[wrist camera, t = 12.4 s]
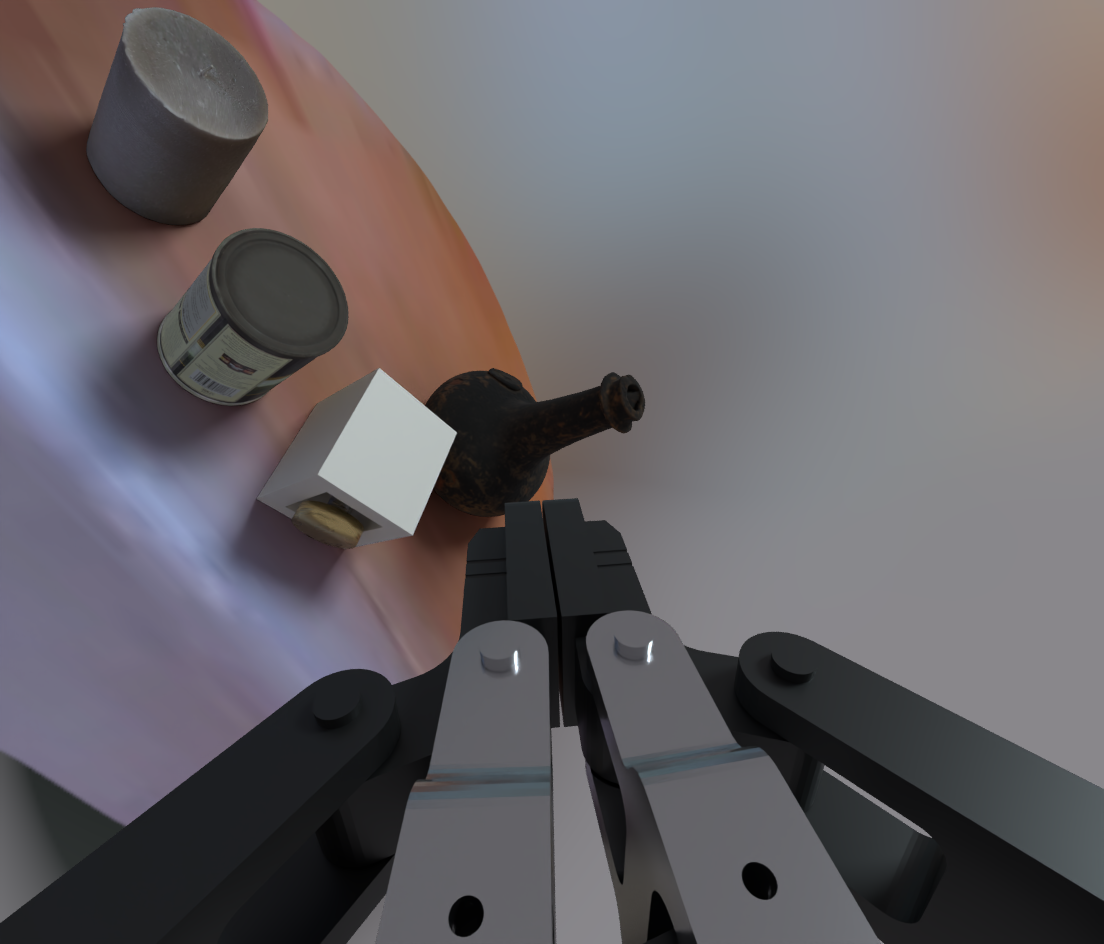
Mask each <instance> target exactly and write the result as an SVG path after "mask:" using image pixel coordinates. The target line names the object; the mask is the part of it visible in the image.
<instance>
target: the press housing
mask: <svg viewBox="0 0 1104 944" xmlns="http://www.w3.org/2000/svg"><path fill="white" fill-rule="evenodd" d="M456 434H457V432H456V431H454V430H453V429H452V428H451V427H450V426H448V425H447V424H446V423H445V422H444V421H442V420H441V419H440V418H439V417H438V416H436V415H435V414H434V413H433V412H432V411H430V410H429V409H428V408H427V407H426V406H424V405H423V404H422V403H421V402H420V401H418V400H417V399H416V398H415V397H414V396H412V395H411V394H410V393H409V392H407V391H406V390H405V389H404V388H403V387H401V386H400V385H399V384H398V383H397V382H395V381H394V380H393V379H392V378H391V377H389V376H388V375H387V374H386V373H385V372H383V371H382V370H381V369H380V368H378V369H377V370H375V371H373V372H371V373H370V374H368V375H366V376H364V377H363V378H361V379H359V380H357V381H356V382H354V383H352V384H350V385H349V386H347V387H345V388H343V389H342V390H340V391H338V392H336V393H335V394H333V395H331V396H329V397H328V398H326V399H324V400H323V401H321V402H319V403H317V404H316V406H315V407H314V409H313V410H312V412H311V414H310V415H309V417H308V418H307V420H306V422H305V423H304V425H303V426H302V428H301V429H300V431H299V433H298V434H297V436H296V437H295V439H294V440H293V442H292V444H291V445H290V447H289V448H288V450H287V451H286V453H285V455H284V456H283V458H282V459H281V461H280V462H279V464H278V466H277V467H276V469H275V470H274V472H273V473H272V475H271V477H270V478H269V480H268V481H267V483H266V485H265V486H264V488H263V489H262V491H261V492H260V494H259V496H258V497H257V500H259V501H261V502H263V503H265V504H266V505H268V506H270V507H272V508H273V509H275V510H277V511H279V512H280V513H282V514H284V515H286V516H287V517H289V518H291V519H292V517H293V516H294V514H295V512H296V510H297V509H298V507H299V505H300V504H301V503H302V502H303V501H318V502H323V503H326V504H327V503H328V501H329V499H330V498H331V496H334V497H335V498H337V499H339V500H340V501H342V502H343V503H345V504H347V505H348V506H350V507H351V508H350V510H349V512H348V513H349V514H350V515H352V516H353V517H355V518H356V519H357V520H358V521H359V522H360V523H361V524H362V526H363V528H364V531H363V533H362V535H361V537H360V539H359V542H358V544H357V546H356V547H358V546H363V545H368V544H373V543H378V542H382V541H387V540H392V539H397V538H402V537H407V536H412V535H413V534H414V531H415V529H416V527H417V524H418V522H419V520H420V517H421V515H422V513H423V510H424V508H425V506H426V504H427V501H428V499H429V497H430V494H431V492H432V490H433V487H434V485H435V483H436V480H437V478H438V476H439V473H440V471H441V469H442V466H443V464H444V462H445V459H446V457H447V455H448V452H449V450H450V448H451V446H452V443H453V441H454V439H455V436H456ZM344 549H345V548H344Z"/></svg>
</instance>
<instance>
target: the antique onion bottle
mask: <svg viewBox="0 0 1104 944" xmlns="http://www.w3.org/2000/svg"><path fill="white" fill-rule="evenodd" d="M425 406H426V407H427V408H428V409H429V410H430V411H432V412H433V413H434V414H435V415H436V416H438V417H439V418H440V419H441V420H442V421H444V422H445V423H446V424H447V425H448V426H450V427H451V428H452V429H453V430H454V431H456V432H457V434H456V436H455V439H454V441H453V443H452V446H451V448H450V450H449V452H448V455H447V457H446V459H445V462H444V464H443V466H442V469H441V471H440V473H439V476H438V478H437V480H436V483H435V485H434V487H433V489H434V490H435V491H436V493H437V494H438V495H439V496H440V497H441V498H442V499H444V500H445V501H446V502H447V503H449V504H450V505H451V506H453V507H455V508H456V509H458V510H460V511H463V512H465V513H468V514H471V515H476V516H482V517H494V516H501V515H504V514H505V503H511V502H527V501H529V500H530V499H531V498H532V497H533V496H534V494H535V493H536V492H537V491H538V489H539V488H540V486H541V484H542V482H543V480H544V478H545V476H546V473H547V469H548V466H549V460H550V455H551V454H552V453H554V452H556V451H558V450H560V449H561V448H564V447H565V446H568V445H571V444H572V443H574V442H577V441H579V440H581V439H584V438H586V437H589V436H591V435H594V434H597V433H599V432H602V431H604V430H607V429H610V428H614V429H615V430H617V431H618V432H621V433H627V432H629V431H630V430H631V427H632V421H638V420H640V418H641V417H642V415H643V412H644V408H645V399H644V395H643V391H642V389H641V387H640V385H639V384H638V382H637V381H636V380H635V379H634V378H633V377H632V376H631V375H626V376H622V377H620V376H619V375H617V374H616V373H614V372H612V373H610V374H608V375H607V376H605V377H604V378H603V381H602V383H601V386H598V387H595V388H592V389H589V390H585V391H582V392H579V393H575V394H571V395H567V396H564V397H560V398H556V399H552V400H546V401H541V402H536V401H535V400H534V398H533V397H532V396H531V395H530V393H529V392H528V391H527V390H526V389H524V388H523V387H522V383H521V382H520V381H519V380H518V379H517V378H515V377H513V376H511V375H510V374H508V373H505V372H503V371H500V370H497V369H494V368H493V369H490V370H489V371H472V372H467V373H463V374H460V375H457V376H455V377H453V378H451V379H449V380H447V381H446V382H445V383H443V384H442V385H441V386H440V387H439V388H438V389H436V391H435V392H434V393H433V394H432V395H431V397H430V398H429V400H428V401H427V403H426V405H425Z"/></svg>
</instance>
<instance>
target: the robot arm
mask: <svg viewBox="0 0 1104 944" xmlns="http://www.w3.org/2000/svg"><path fill="white" fill-rule="evenodd" d="M542 513H543V518H542ZM465 576H466V579H465V586H464V598H463V609H462V621H461V632H460V638H459V641H458V643H457V644H456V646H455V648H454V651H453V652H452V653H451V654H450V655H449V657H448V658H447V659H446V660H444V661H443V662H442V663H441V664H440V665H438V666H437V667H435V668H434V669H432V670H430V671H428V672H426V673H424V674H422V675H419V676H417V677H414V678H411V679H408V680H405V681H403V682H400V683H397V684H394V685H391V683H390V682H389V681H388V680H387V678H385V677H384V676H383V675H381V674H379V673H377V672H374V671H371V670H365V669H350V670H344V671H340V672H336V673H333V674H330V675H328V676H325V677H323V678H321V679H319V680H317V681H316V682H314V683H312V684H311V685H310V686H308V687H307V688H305V689H304V690H303V691H301V692H300V693H299V694H298V695H296V696H295V697H294V698H292V699H291V700H290V701H288V702H287V703H286V704H285V705H283V706H282V707H281V708H279V709H278V710H277V711H275V712H274V713H273V714H272V715H270V716H269V717H268V718H266V719H265V720H264V721H262V722H261V723H260V724H259V725H257V726H256V727H255V728H253V729H252V730H251V731H249V732H248V733H247V734H246V735H244V736H243V737H242V738H240V739H239V740H238V741H236V742H235V743H234V744H233V745H231V746H230V747H229V748H227V749H226V750H225V751H223V752H222V753H221V754H220V755H218V756H217V757H216V758H214V759H213V760H212V761H210V762H209V763H208V764H207V765H205V766H204V767H203V768H201V769H200V770H199V771H197V772H196V773H195V774H194V775H192V776H191V777H190V778H188V779H187V780H186V781H184V782H183V783H182V784H181V785H179V786H178V787H177V788H175V789H174V790H173V791H171V792H170V793H169V794H168V795H166V796H165V797H164V798H162V799H161V800H160V801H158V802H157V803H156V804H155V805H153V806H152V807H151V808H149V809H148V810H147V811H145V812H144V813H143V814H142V815H140V816H139V817H138V818H136V819H135V820H134V821H132V822H131V823H130V824H129V825H127V826H126V827H125V828H123V829H122V830H121V831H119V832H118V833H117V834H116V835H114V836H113V837H112V838H110V839H109V840H108V841H106V842H105V843H104V844H103V845H101V846H100V847H99V848H98V849H96V850H95V851H94V852H92V853H91V854H90V855H88V856H87V857H86V858H85V859H83V860H82V861H80V862H79V863H78V864H77V865H75V866H74V867H73V868H72V869H70V870H69V871H67V872H66V873H65V874H64V875H62V876H61V877H60V878H59V879H57V880H56V881H54V882H53V883H52V884H51V885H49V886H48V887H47V888H46V889H44V890H43V891H42V892H40V893H39V894H38V895H36V896H35V897H34V898H32V899H31V900H30V901H29V902H27V903H26V904H25V905H23V906H22V907H21V908H19V909H18V910H17V911H16V912H14V913H13V914H12V915H10V916H9V917H8V918H7V919H5V920H4V921H3V922H1V923H0V944H346V943H347V942H348V941H349V940H350V938H351V937H352V936H353V935H354V933H355V932H356V931H357V929H358V928H359V927H360V926H361V924H362V923H363V922H364V921H365V919H366V918H367V917H368V916H369V914H370V913H371V912H372V911H373V909H374V908H375V907H376V905H377V904H378V903H379V902H380V901H381V899H382V898H383V897H384V896H385V894H386V898H385V902H384V907H383V911H382V916H381V921H380V924H379V929H378V933H377V937H376V942H375V944H556V915H555V913H556V912H555V866H554V864H555V863H554V813H553V812H554V811H553V768H552V741H551V728H555V727H560V715H559V714H560V713H559V693H560V701H561V707H562V715H563V722H564V723H563V724H564V727H568V726H578V728H579V734H580V740H581V746H582V751H583V755H584V757H585V768H586V775H587V779H588V783H589V787H590V791H591V795H592V799H593V804H594V807H595V812H596V816H597V820H598V825H599V829H600V833H601V837H602V841H603V845H604V849H605V853H606V858H607V862H608V866H609V870H610V874H611V879H612V882H613V887H614V891H615V896H616V901H617V906H618V913H619V920H620V930H621V938H622V944H881V943H880V942H879V940H881V941H882V942H883V943H884V944H1104V789H1102V788H1101V787H1099V786H1097V785H1095V784H1092V783H1091V782H1089V781H1087V780H1085V779H1083V778H1080V777H1079V776H1077V775H1075V774H1073V773H1071V772H1069V771H1067V770H1065V769H1063V768H1061V767H1059V766H1057V765H1055V764H1053V763H1051V762H1049V761H1047V760H1045V759H1043V758H1041V757H1040V756H1038V755H1036V754H1034V753H1032V752H1030V751H1028V750H1026V749H1024V748H1022V747H1020V746H1018V745H1016V744H1014V743H1012V742H1010V741H1008V740H1006V739H1004V738H1002V737H1000V736H998V735H996V734H994V733H992V732H990V731H988V730H986V729H985V728H982V727H981V726H978V725H977V724H975V723H973V722H971V721H969V720H967V719H965V718H963V717H961V716H959V715H957V714H955V713H953V712H951V711H949V710H947V709H945V708H943V707H941V706H939V705H937V704H935V703H933V702H931V701H929V700H927V699H926V698H923V697H922V696H920V695H918V694H916V693H914V692H912V691H910V690H908V689H906V688H904V687H902V686H900V685H898V684H896V683H894V682H892V681H890V680H888V679H886V678H884V677H882V676H880V675H878V674H876V673H874V672H872V671H870V670H869V669H867V668H865V667H862V666H861V665H859V664H857V663H855V662H853V661H851V660H849V659H847V658H845V657H843V656H841V655H839V654H837V653H835V652H833V651H831V650H829V649H827V648H825V647H823V646H821V645H819V644H817V643H815V642H813V641H811V640H809V639H807V638H804V637H801V636H798V635H794V634H790V633H784V632H766V633H761V634H757V635H755V636H753V637H751V638H749V639H748V640H747V641H746V642H745V643H744V644H743V645H742V647H741V649H740V653H739V657H734V656H728V655H722V654H716V653H710V652H704V651H699V650H696V649H692V648H689V647H686V646H684V645H683V643H682V641H681V639H680V638H679V636H678V634H677V633H676V631H675V630H674V629H673V628H672V627H671V626H670V625H669V624H668V623H667V622H665V621H664V620H662V619H660V618H659V617H656V616H654V615H652V614H651V611H650V609H649V606H648V604H647V601H646V598H645V595H644V593H643V590H642V588H641V585H640V582H639V580H638V577H637V575H636V572H635V570H634V567H633V566H632V562H631V559H630V556H629V554H628V553H627V549H626V546H625V544H624V541H623V538H622V536H621V533H620V532H618V531H617V530H616V529H615V528H614V527H613V526H611V525H610V524H609V523H608V522H607V521H605V520H602V521H587V522H585V521H584V518H583V514H582V511H581V507H580V503H579V500H578V498H575V499H559V500H544V501H543V502H542V512H541V505H540V501H527V502H511V503H505V527H498V528H483V529H479V531H478V532H477V533H476V534H475V536H474V537H473V538H472V540H471V541H470V542H469V543H468V551H467V564H466V574H465ZM824 765H826V766H827V767H829V768H830V769H832V770H833V771H835V772H836V773H838V774H839V775H841V776H843V777H844V778H846V779H847V780H849V781H850V782H852V783H854V784H855V785H856V786H858V787H859V788H861V789H863V790H864V791H866V792H867V793H869V794H870V795H872V796H873V797H875V798H876V799H878V800H880V801H881V802H883V803H884V804H886V805H887V806H889V807H890V808H892V809H893V810H895V811H896V812H898V813H900V814H901V815H903V816H904V817H906V818H907V819H909V820H910V821H912V822H913V823H915V824H916V825H918V826H919V827H921V828H922V829H923V830H925V831H926V832H927V833H928V834H929V835H930V836H931V837H932V838H930V837H927V836H925V835H923V834H921V833H918V832H917V831H915V830H914V829H912V828H910V827H909V826H908V825H906V824H905V823H903V822H902V821H900V820H898V819H897V818H895V817H894V816H892V815H891V814H889V813H888V812H886V811H885V810H883V809H882V808H880V807H879V806H877V805H875V804H874V803H873V802H871V801H870V800H868V799H867V798H865V797H863V796H862V795H860V794H859V793H857V792H856V791H854V790H853V789H851V788H850V787H848V786H847V785H845V784H844V783H842V782H841V781H839V780H838V779H836V778H835V777H833V776H831V775H830V774H829V773H827V772H825V771H824V770H823V768H824ZM878 939H879V940H878Z"/></svg>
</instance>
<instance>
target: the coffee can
mask: <svg viewBox="0 0 1104 944" xmlns="http://www.w3.org/2000/svg"><path fill="white" fill-rule="evenodd" d="M347 324H348V305H347V301H346V297H345V293H344V291H343V288H342V286H341V284H340V282H339V280H338V278H337V277H336V275H335V274H334V272H333V271H332V270H331V268H330V267H329V266H328V264H327V263H326V262H325V261H324V260H323V259H322V258H321V257H320V256H319V255H318V254H317V253H315V252H314V251H313V250H312V249H311V248H309V247H308V246H307V245H305V244H304V243H302V242H301V241H299V240H297V239H295V238H293V237H291V236H289V235H286V234H284V233H281V232H278V231H274V230H270V229H262V228H252V229H245V230H241V231H238V232H236V233H233V234H232V235H230V236H229V237H227V238H226V239H224V241H223V242H222V243H221V244H220V245H219V247H218V248H217V250H216V251H215V253H214V255H213V257H212V259H211V260H210V262H209V263H208V264H207V266H206V267H205V268H204V270H203V271H202V272H201V274H200V275H199V276H198V277H197V279H196V280H195V281H194V283H193V284H192V285H191V286H190V288H189V289H188V290H187V292H186V293H185V294H184V295H183V297H182V298H181V299H180V301H179V302H178V303H177V304H176V306H175V307H174V308H173V310H172V311H170V312H169V313H168V314H167V315H166V317H165V318H164V319H163V321H162V323H161V325H160V327H159V331H158V336H157V348H158V352H159V355H160V358H161V360H162V363H163V365H164V367H165V368H166V370H167V371H168V373H169V374H170V376H171V377H172V378H173V379H174V380H175V381H176V382H177V383H178V384H179V385H180V386H181V387H182V388H184V389H185V390H187V391H188V392H190V393H191V394H193V395H195V396H197V397H199V398H201V399H203V400H206V401H209V402H212V403H216V404H221V405H228V406H234V405H243V404H248V403H251V402H253V401H256V400H258V399H259V398H261V397H263V396H264V395H265V394H266V393H268V391H269V390H271V389H272V388H274V387H275V386H276V385H278V384H279V383H281V382H282V381H284V380H285V379H286V378H288V377H289V376H291V375H292V374H293V373H295V372H296V371H298V370H299V369H301V368H302V367H304V366H305V365H306V364H308V363H309V362H311V361H312V360H314V359H315V358H316V357H318V356H320V355H323V354H325V353H326V352H328V351H330V350H331V349H332V348H334V347H335V346H336V345H337V344H338V343H339V342H340V340H341V339H342V337H343V336H344V334H345V331H346V329H347Z"/></svg>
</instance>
